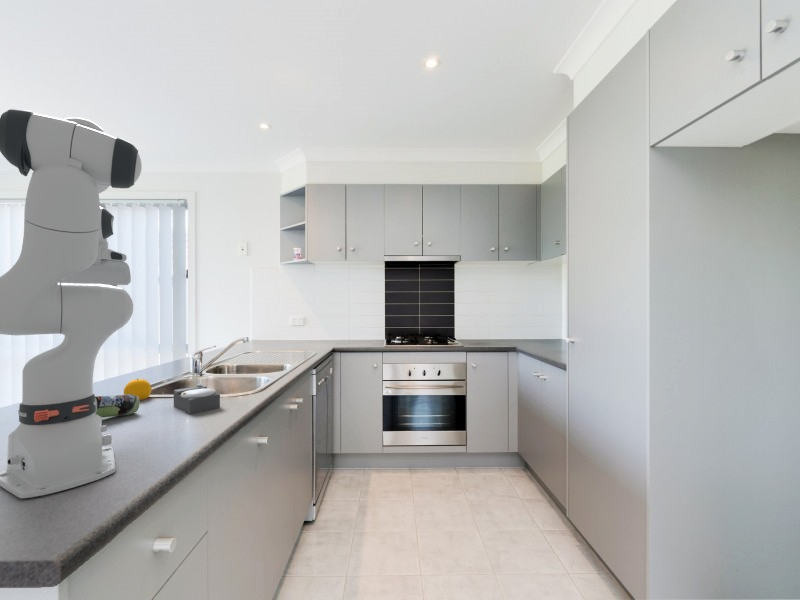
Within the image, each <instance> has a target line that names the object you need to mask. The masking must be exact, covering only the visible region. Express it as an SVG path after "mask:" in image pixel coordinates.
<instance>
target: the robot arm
mask: <svg viewBox="0 0 800 600" xmlns="http://www.w3.org/2000/svg"><path fill="white" fill-rule="evenodd" d="M0 153H1V155H2V156H3V157H4V159H5V160H6V161H7V162H8V163H10V164H11V166H14V167H16V168H17V169H18V170H19V173H20V174H21V175H23V176H24V177H27V176H28V174H29V173H30V171H31V170H32V171H33V172H32V174H31V178H30V180H29V183H28V188H27V190H26V197H25V205H24V215H23V216H24V217H23V218H24V219H23V221H24V223H23V224H24V225H23V239H22V245H21V250H20V254H19V256H18V259H17V261H16V262H14V264H13V266H11V267H10V269H9V270H8V271H6V272H5V273H4V274H2V275H1V276H0V335H5V336H33V335H54V334H56V335H58V334H60V335H63V336H64V338H63V341H62V342H61V343H60V344H59V345H57V346H56V347H53V348H51V349H49V350H46V351H44V352H41V353H39V354H37V355H36V356H34V357H32V358H31V359H29V360H28V361H27V362H26V363H25V365H24V366H23V369H22V378H21V379H22V381H21V382H22V384H21V386H22V387H21V388H22V392H21V393H22V394H21V395H22V398H21V399H22V402H21V403H20V404H19V407H18V410H17V411H18V422H19V423H20V424H18V425H17V427H16V428H15V429H14V430H13V431H12V432H10V433H9V434H8V437H7V457H6V469H4V470H2V471H0V487H1V488H3V489H4V490H5V491H7V492H9V493H11V494H12V495H14V496H15V497H17V498H19V499H28V498H36V497H39V496H40V497H41V496H46V495H51V494H54V493H58V492H61V491H65V490H69V489H72V488H76V487H79V486H82V485H85V484H88V483H92V482H95V481H99V480H100V479H103V478H106V477H107V476H110V475H112V474H114V473H115V472H117V468H116V457H115V450H114V447H113V446H111V445H112V442H113V441H112V440H113V439H112V434H111V433H107V434H103V435H102V433H105V432H107V430H108V429H107V427H108V426H107V424H105V425H102V421H103V420H102V417H100V416H99V415H97V414H95V413H94V412H95V411H96V400H95V397H96V395H95V393H93V392H94V390H93V388H94V384H93V383H94V372H95V371H94V370H95V365H96V359H97V356H98V354H99V352H100V350H101V349H102V346H103V345H104V344H105V342H106V341H107V340H108V339H109V338H110V337H111V336H113V334H114V333H116V332H117V331H119V330H120V329H122V328H123V327H124V326H125V325H127V323H128V322H129V321H130V319H131V317H132V315H133V312H134V303H133V299H132V297H131V295H130V294H129V293H128V291H127V290H125V289H124V288H122V287H119V286H128V285H130V283H131V282H132V278H131V270H130V269H131V268H130V266H129V264H128V263H127V262H126V261H127V259H128V257H127V255H126V254H125V253H122V252H119V251H116V250H113V249H111V248H109V243H108V238H110V237H112V236H113V235H114V230H113V229H114V219H115V216H114V215H113V214H111V212H110V211H109V210H107V207H106V203H104V202H102V201H101V200H100V195H99V194H101V193H103V192H105V191H106V190H107V189H109V188H110V187H111V188H113V189H130V188H131V187H133V186H134V185H135V183H136V181H138V179H140V176H141V172H142V169H143V168H142V165H143V164H142V160H141V157H140V154H139V149H137V147H136V146H135V145H134V144H133V143H131V142H130V141H128V140H126V139H123V138H121V137H119V136H117V137H115V136H113V135H110V134H107V133H106V131H105V130H104V129H103V128H102V127H101V126H99V125H98V124H97V123H95V122H93V121H92V120H89V119H85V118H82V117H67V118H64V119H62V118H58V117H53V116H48V115H43V114H38V113H35V112H34V111H31V110H24V109H17V108H10V109H7V110H5V112H3V113H2V114H1V115H0Z"/></svg>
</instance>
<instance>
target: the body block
mask: <svg viewBox="0 0 800 600" xmlns="http://www.w3.org/2000/svg"><path fill="white" fill-rule="evenodd" d="M207 387H208V386H205V385H203V383H197V384H196V386H192V387H184V388H178V389H174V390H173V408H175V409H177V410H180V411H181V412H183V413H186V414H187V415H194V414H198V413H200V414H201V413H205V412H208V411H211V410H217V409H220V408H221V393H219V392H218V393H217V392H216V389H215V388H207Z"/></svg>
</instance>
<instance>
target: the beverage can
mask: <svg viewBox="0 0 800 600" xmlns="http://www.w3.org/2000/svg"><path fill="white" fill-rule="evenodd" d="M95 400H96V411H95V412H94V413H95V414H97V415H99V416H100V417H102V418H109V417H110V418H111V417H123V416H130V415H132V414H134V413H137V412H138V411H139V409H140V401H141V400H139V397H138V396H135V395H132V394H130V395H124V394H117V395H101V396H100V395H99V396H98V395H97V396H96V395H95Z"/></svg>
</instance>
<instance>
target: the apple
mask: <svg viewBox="0 0 800 600" xmlns="http://www.w3.org/2000/svg"><path fill="white" fill-rule="evenodd" d="M151 393H152V385H151V383H150V382H149V381H148V380H147V379H144V378H143V379H142V378H136V379H132V380H130V381H129V382H127V384H125V386H124V388H123V395H130V394H132V395H135V396H138V397H139V401H143V400H146V399H148V398H149V397H150V396H151Z"/></svg>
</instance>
